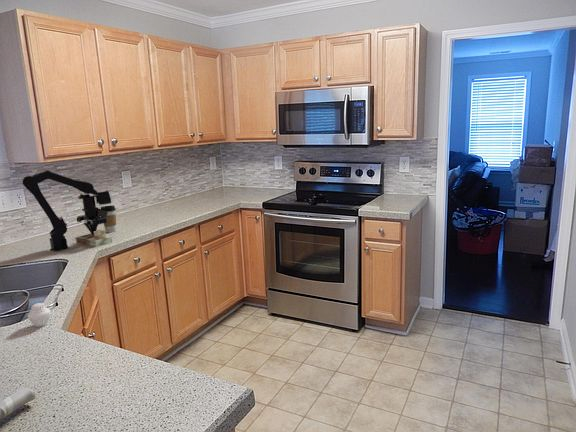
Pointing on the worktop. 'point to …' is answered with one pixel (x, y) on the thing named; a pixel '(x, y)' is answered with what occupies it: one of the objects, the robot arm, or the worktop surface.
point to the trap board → (93, 240)
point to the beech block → (99, 234)
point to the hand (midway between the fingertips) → (94, 235)
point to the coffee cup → (110, 218)
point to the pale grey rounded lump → (39, 314)
